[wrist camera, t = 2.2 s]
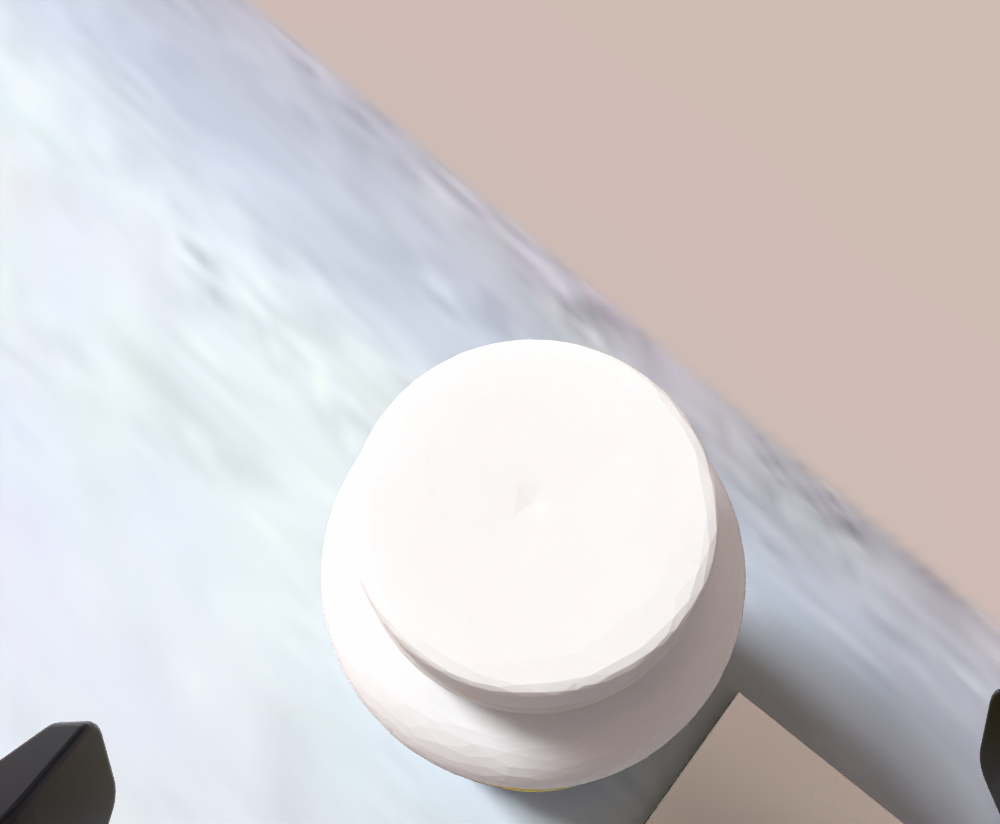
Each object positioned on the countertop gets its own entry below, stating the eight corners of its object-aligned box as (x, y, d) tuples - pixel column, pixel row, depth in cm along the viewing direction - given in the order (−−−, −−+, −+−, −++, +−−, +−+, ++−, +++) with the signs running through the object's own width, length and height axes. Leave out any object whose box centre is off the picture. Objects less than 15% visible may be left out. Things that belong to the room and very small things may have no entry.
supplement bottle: (719, 684, 18) (921, 573, 9) (495, 852, 17) (454, 927, 8) (561, 473, 20) (589, 197, 11) (351, 612, 19) (177, 439, 10)
